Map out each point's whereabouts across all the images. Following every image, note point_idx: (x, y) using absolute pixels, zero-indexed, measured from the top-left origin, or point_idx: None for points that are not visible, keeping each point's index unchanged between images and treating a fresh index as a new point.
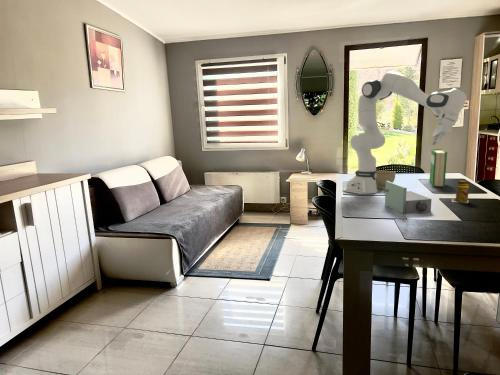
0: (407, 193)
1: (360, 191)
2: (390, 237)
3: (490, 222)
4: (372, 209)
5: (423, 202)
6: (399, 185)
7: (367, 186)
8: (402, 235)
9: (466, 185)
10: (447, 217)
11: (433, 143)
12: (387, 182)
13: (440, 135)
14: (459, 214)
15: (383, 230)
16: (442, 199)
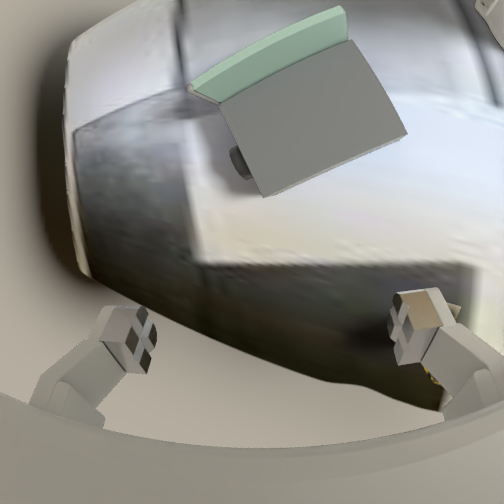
0: (353, 113)
1: (488, 5)
2: (77, 107)
3: (200, 324)
4: (271, 21)
5: (234, 165)
6: (234, 60)
7: (500, 15)
8: (85, 124)
9: (426, 370)
10: (220, 234)
11: (398, 310)
12: (324, 13)
13: (51, 380)
14: (260, 276)
15: (103, 85)
16: (458, 274)
